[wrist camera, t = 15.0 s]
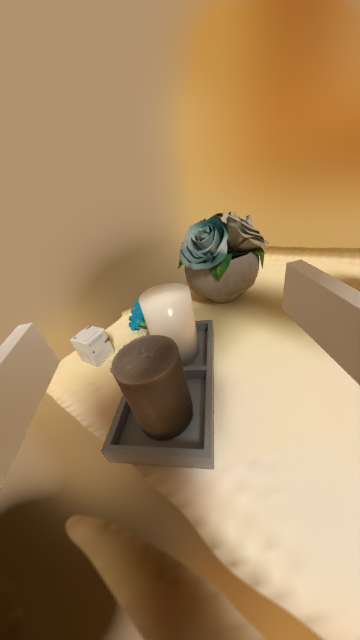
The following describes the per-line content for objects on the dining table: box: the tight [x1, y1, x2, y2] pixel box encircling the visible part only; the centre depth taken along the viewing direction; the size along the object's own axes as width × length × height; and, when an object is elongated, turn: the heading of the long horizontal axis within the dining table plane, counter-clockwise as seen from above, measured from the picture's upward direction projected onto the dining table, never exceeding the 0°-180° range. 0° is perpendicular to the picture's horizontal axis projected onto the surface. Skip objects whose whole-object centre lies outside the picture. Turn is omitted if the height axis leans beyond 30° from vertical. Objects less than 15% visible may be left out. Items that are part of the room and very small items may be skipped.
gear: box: [129, 299, 147, 330], centre depth 62 cm, size 11×6×10 cm
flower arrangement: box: [178, 211, 269, 303], centre depth 61 cm, size 25×25×24 cm
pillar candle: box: [110, 335, 193, 440], centre depth 33 cm, size 10×10×15 cm
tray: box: [101, 320, 214, 469], centre depth 43 cm, size 16×31×4 cm, turn 173°
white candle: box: [139, 283, 200, 366], centre depth 45 cm, size 10×10×15 cm
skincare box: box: [70, 325, 114, 367], centre depth 53 cm, size 6×6×7 cm
